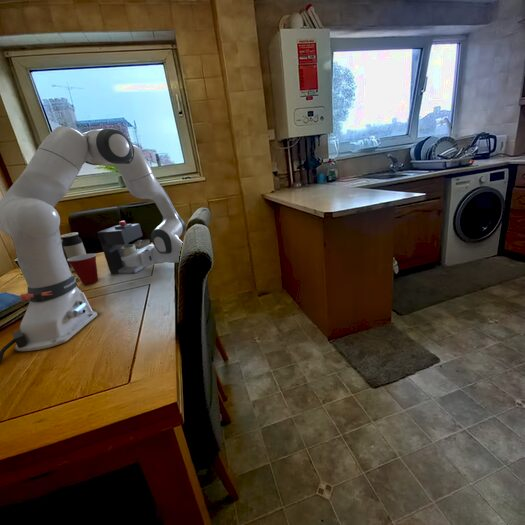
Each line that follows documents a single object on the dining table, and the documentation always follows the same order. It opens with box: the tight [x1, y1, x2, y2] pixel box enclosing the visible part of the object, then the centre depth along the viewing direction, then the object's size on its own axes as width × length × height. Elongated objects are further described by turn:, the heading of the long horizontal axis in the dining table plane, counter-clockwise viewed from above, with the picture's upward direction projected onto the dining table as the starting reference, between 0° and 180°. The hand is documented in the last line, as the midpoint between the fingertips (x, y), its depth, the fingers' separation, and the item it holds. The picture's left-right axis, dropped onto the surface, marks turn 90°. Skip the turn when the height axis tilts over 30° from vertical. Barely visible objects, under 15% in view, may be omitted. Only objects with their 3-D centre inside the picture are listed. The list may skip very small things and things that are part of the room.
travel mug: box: [61, 232, 87, 272], centre depth 137 cm, size 8×8×18 cm
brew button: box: [118, 220, 127, 226], centre depth 123 cm, size 2×2×2 cm
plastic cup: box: [67, 253, 99, 286], centre depth 119 cm, size 11×11×12 cm
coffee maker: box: [97, 223, 145, 276], centre depth 128 cm, size 13×12×21 cm
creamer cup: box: [121, 244, 137, 268], centre depth 129 cm, size 6×6×10 cm
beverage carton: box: [131, 239, 152, 249], centre depth 151 cm, size 8×19×7 cm, turn 6°
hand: (129, 254), depth 129 cm, fingers open, 8 cm apart
